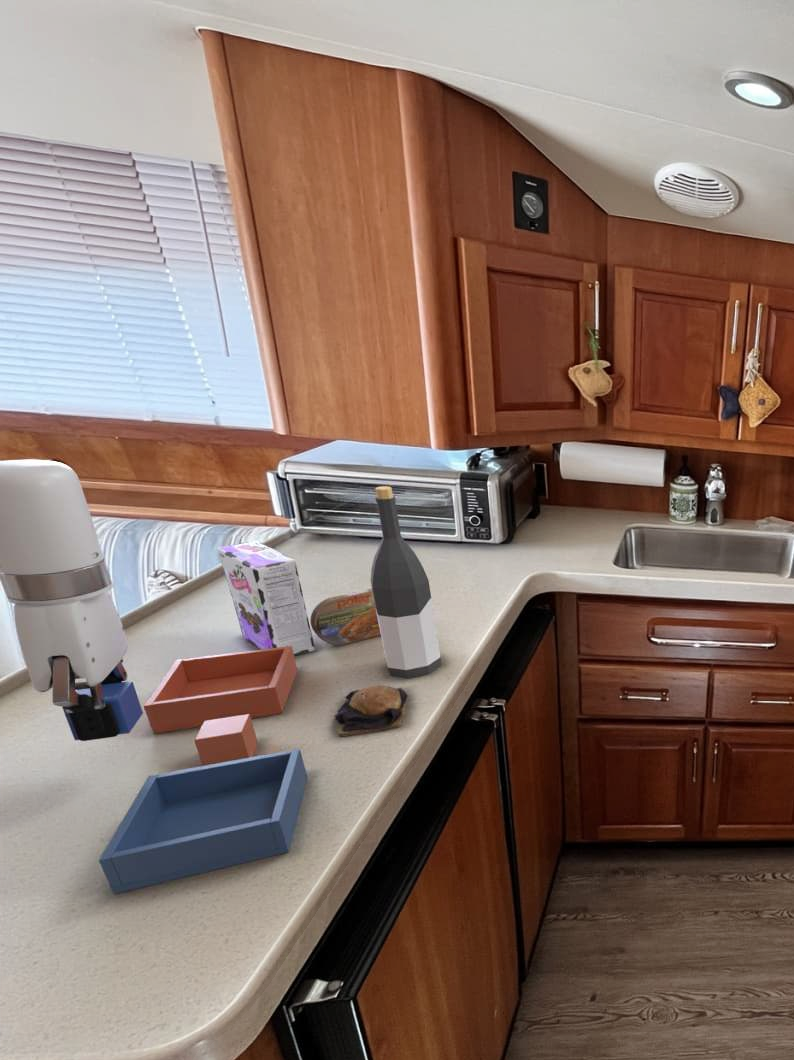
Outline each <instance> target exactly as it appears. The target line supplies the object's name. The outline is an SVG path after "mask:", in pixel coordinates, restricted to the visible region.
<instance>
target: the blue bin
mask: <svg viewBox="0 0 794 1060" xmlns="http://www.w3.org/2000/svg"><path fill="white" fill-rule="evenodd" d="M303 758H304V757H303V755H302V751H301V748H295V749H294V748H293V749H289V750H283V751H278V752H274V753H273V752H272V753H268V754H267V753H266V754H261V755H256V756H253V757H250V758H244V759H239V760H233V761H228V762H222V763H217V764H211V765H206V766H203V765H202V766H195V767H191V768H190V767H189V768H184V769H179V770H174V771H168V772H162V773H158V774H152V775H148V777H147V778H146V779H145V781H144V783H143V785H142V786H141V788H140V790H139V791H138V793H137V795H136V796H135V798H134V800H133V801H132V804H131V805H130V807H129V808H128V810H127V811H126V814H125V815H124V817H123V819H122V820H121V822H120V824H119V825H118V827H117V829H116V831H115V832H114V834H113V836H112V838H111V839H110V841H109V842H108V844H107V845H106V847H105V850H103V853H102V854H101V856H100V858H99V859H98V862H99V866H100V867H101V869H102V871H103V874H104V876H105V879H106V880H107V883H108V884H109V887H110V889H111V892H112V894H113V895H116V894H121V893H126V892H128V891H133V890H137V889H141V888H145V887H150V886H154V885H158V884H161V883H166V882H170V881H175V880H179V879H183V878H186V877H190V876H195V875H199V874H203V873H208V872H211V871H216V870H220V869H224V868H228V867H232V866H236V865H241V864H244V863H249V862H254V861H257V860H262V859H265V858H269V857H273V856H277V855H282V854H287V853H289V852H290V848H291V844H292V841H293V836H294V832H295V829H296V824H297V820H298V816H299V812H300V808H301V804H302V801H303V796H304V792H305V789H306V784H307V781H308V773H307V769H306V766H305V761H304V759H303Z"/></svg>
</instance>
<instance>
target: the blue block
mask: <svg viewBox="0 0 794 1060" xmlns="http://www.w3.org/2000/svg"><path fill="white" fill-rule="evenodd" d="M101 686H102V690H103V695H104V700H105V705H106V704H111V707H112V710H113V713H114V716H115V719H116V721H117V724H118V727H119V730H120V733H119V734H118V735H117V736H119V735H127V734H130V733H131V731H132V730H133V729H134V727H135V726H136V725H137V723H138V721H139V720H140V718H141V717H142V716H143V713H144V711H143V709H142V706H141V702H140V700H139V697H138V693H137V691H136V688H135V684H134V682H133V681H132V680H131V681H122V683H113V684H104V685H101ZM75 691H76V693H78V694H80V695H82V694H86V695H88V696H90V697H92V696H91V692H90V688H89V689H80V690H75ZM61 708H62V710H63V713H64V717H65V719H66V721H67V723H68V727H69V729H70V732H71V734H72V736H73V740H74V741H80V740H79V739H78V736H77V734H76V731H75V728H74V726H73V723H72V720H71V718H70V715H69V713H66V711H65V708H64V707H62V706H61Z"/></svg>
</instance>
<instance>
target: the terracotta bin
mask: <svg viewBox="0 0 794 1060" xmlns="http://www.w3.org/2000/svg"><path fill="white" fill-rule="evenodd" d="M298 669H299V668H298V665H297V661H296V656H294V653H293V649H292V646H286V647H279V648H270V649H262V650H261V649H256V650H247V651H239V652H229V653H220V654H213V655H205V656H197V657H189V658H180V659H176V660H175V661H173V664H172V665H171V666H170V668H169V669H168V671H167V672H166V673H165V675H164V676H163V678H161V680H160V682H159V683H158V685H157V686H156V688H155V689H154V690H153V692H152V693H151V695H150V696H149V698H148V699H147V700H146V702H145V703H144V704H143V709H144V712H145V714H146V717H147V719H148V722H149V725H150V728H151V731H152V733H153V734H160V733H167V732H172V731H179V730H184V729H191V728H198V727H201V726H202V725H203V723H204V721H207V720H214V719H220V718H227V717H233V716H239V715H246V714H250V717H251V719H254V718H261V717H266V716H267V717H268V716H273V715H278V714H283V712H284V709H285V707H286V704H287V701H288V698H289V696H290V692H291V690H292V687H293V684H294V682H295V678H296V675H297V673H298V671H299V670H298Z"/></svg>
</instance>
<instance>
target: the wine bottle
mask: <svg viewBox="0 0 794 1060" xmlns="http://www.w3.org/2000/svg"><path fill="white" fill-rule="evenodd" d="M375 493H376V496H374V499H375V502H376V505H377V511H378V517H379V523H380V528H381V533H382V538H381V541H380V544H379V545H378V547H377V550H376V552H375V554H374V557H373V561H372V565H371V568H370V569H371V570H370V586H371V588H372V592H373V597H374V602H375V607H376V612H377V617H378V622H379V628H380V633H381V635H380V637H381V642H382V649H383V652H384V658H385V663H386V666H387V670H388V673H389V675H390V676H391V677H396V678H403V679H410V678H411V679H412V678H415V677H420V676H425V675H429V674H431V673H432V672H434V671H435V670H436V669H438V668H440V667H441V666H442V656H441V651H440V644H439V638H438V632H437V625H436V624H437V623H436V619H435V612H434V607H433V600H432V595H431V586H430V580H429V578H428V575H427V573H426V572H425V569H424V567H423V565H422V562H421V561H420V559H419V558H418V555H417V554H416V553H415V551H414V550H413V549H412V548H411V546H410V545H409V544H408V543H407V542H406V540H405V539H404V537H402V534H401V533H402V532H401V528H400V523H399V522H400V521H399V516H398V509H397V503H396V502H397V500H396V496H395V495H394V494H393V493H394V492H393V488H392V487H391V486H387V485H385V486H383V485H382V486H377V487H375Z"/></svg>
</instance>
